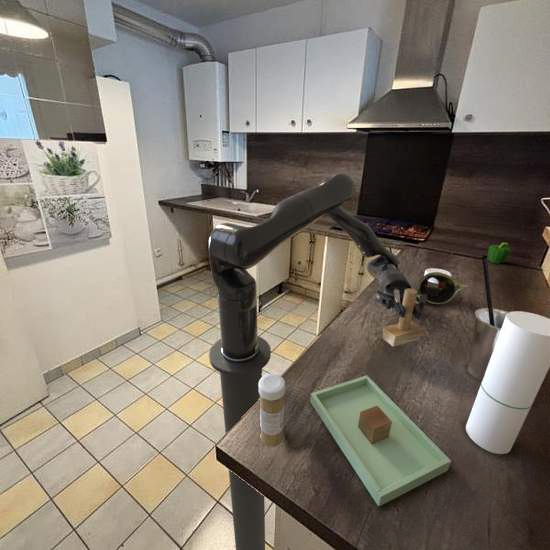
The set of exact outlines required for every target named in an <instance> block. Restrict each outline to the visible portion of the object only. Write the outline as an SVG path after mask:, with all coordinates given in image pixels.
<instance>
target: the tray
mask: <svg viewBox="0 0 550 550" xmlns="http://www.w3.org/2000/svg"><path fill="white" fill-rule="evenodd" d="M309 401H310V404H311V406H312V407H313V408H314V409H315V412H316V413H317V414H318V416H319V418H320V419H321V421H322V422H323V423H324V425H325V427H326V429H327V430H328V431H329V433H330V435H331V436H332V438H333V439H334V441H335V442H336V444H337V445H338V447H339V448H340V450H341V451H342V453H343V454H344V456H345V457H346V459H347V461H348V462H349V463H350V466H351V467H352V468H353V469H354V471H355V473H356V474H357V476H358V477H359V479H360V480H361V482H362V484H363V485H364V486H365V488H366V490H367V491H368V493H369V494H370V496H371V498H372V499H373V501H374V503H375V504H376V505H377V506H378V507H381V506H383V505H385V504H387V503H388V502H391V501H393V500H394V499H396V498H398V497H401V496H402V495H404V494H406V493H407V492H408V493H409V491H411V490H413V489H415V488H417V487H419V486H421V485H423V484H425V483H427V482H428V481H431V480H433V479H434V478H436V477H438V476H440V475H442V474H444V473H446V472H447V471H449V468H450V466H451V463H452V460H451V459H450V458H449V457H448V456H447V455H446V454H445V453H444V452H443V451H442V450H441V448H439V447H438V445H436V444H435V443H434V441H432V440H431V439H430V438H429V437H428V436H427V434H426V433H424V432H423V431H422V430H421V428H419V426H418V425H417V424H415V422H414V421H412V419H410V417H409V416H408V415H407V414H406V413H405V412H404V411H403V410H402V408H400V407H399V406H398V405H397V404H396V403H395V402H394V401H393V400H392V399H391V398H390V397H389V396H388V395H387V394H386V393H385V392H384V391H383V389H381V388H380V387H379V386H378V384H376V382H375V381H374V380H372V378H370V376H369V375H367V374H366V375H363V376H360V377H357V378H353V379H351V380H348V381H345V382H341V383H338V384H336V385H333V386H332V385H331V386H330V387H326V388H322V389H320V390H317V391H314V392H310V400H309ZM374 406H378V407H379V408H380V409H381V410H382V411H383V412H384V413H385V414H386V416H387V417H388V418H389V419H390V420H391V421H392V424H391V429H390V433H389V437H388V438H385V439H383V440H381V441H378V442H376V443H374V444H371V443H370V442H369V441H368V439H367V438H366V437H365V435H364V434H363V433H362V432H361V430H360V429H359V428H358V423H359V417H360V412H361V411H364V410H366V409H369V408H372V407H374Z"/></svg>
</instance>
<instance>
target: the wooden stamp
mask: <svg viewBox="0 0 550 550" xmlns="http://www.w3.org/2000/svg"><path fill="white" fill-rule="evenodd" d="M417 293H418V292H417V291H416V290H415V289H414V288H412V289H405V293H404V298H403V303H402V305H403V306H404V308H405V310H406V312H405V317H404V318H403V317H400V316H399V319H398V323H395V324H391V325H390V324H389V325H386V326H383V327H382V331H381V332H382V339H383V340H384V341H385V342H386V343H387V344H389V345H390V346H391V347H393V348H395V347H397V346H401V345H405V344H408V343H412V342H416V341H419V340H421V336H422V334H423V333H424V330H425V328H424V327H422V326H421V325H419V324H418V323H416V322H414V321H413V320H412V318H413V316H414V315H413V311H414V306H415V302H416V301H417V299H416V297H417Z"/></svg>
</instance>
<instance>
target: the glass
mask: <svg viewBox="0 0 550 550" xmlns="http://www.w3.org/2000/svg"><path fill="white" fill-rule="evenodd" d="M481 261H482V270H483V278H484V287H485V295H486V296H485V297H486V304H487V307H481V308H479V309H476V310H475V312H474V316H475V321H474V322H475V323H474V329H473V334H472V340H471V347H470V353H469V358H468V363H467V367H466V370H467V372H468V374H469V375H470V376H471V377H473V378H474V379H476V380H478V381H480V382H482V380H483V378H484V375H485V372H486V369H487V367H488V364H489V361H490V358H491V356H492V353H493V350H494V347H495V345H496V342H497V339H498V336H499V334H500V331H501V328H502V325H503V323H504V320H505V317H506V314H507V313H509V312H510V311H507V310H502V309H497V308H494V305H493V296H492V287H491V278H490V269H489V260H488V255H484V256H482V257H481Z"/></svg>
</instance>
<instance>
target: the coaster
mask: <svg viewBox="0 0 550 550" xmlns="http://www.w3.org/2000/svg"><path fill="white" fill-rule="evenodd" d="M432 272H441V273H444V274H447V275H449V276H450V277H451V278H453V274H452V273H451V272H450V271H448V270H445V269H441V268H435V267H430V268H427V269H425V270H424V274H423V276H425V275H426V274H428V273H432ZM428 282H429V283H431V284H435V285H438V281H437V280H436V279H434V278H430V279H429V280H428Z"/></svg>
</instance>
